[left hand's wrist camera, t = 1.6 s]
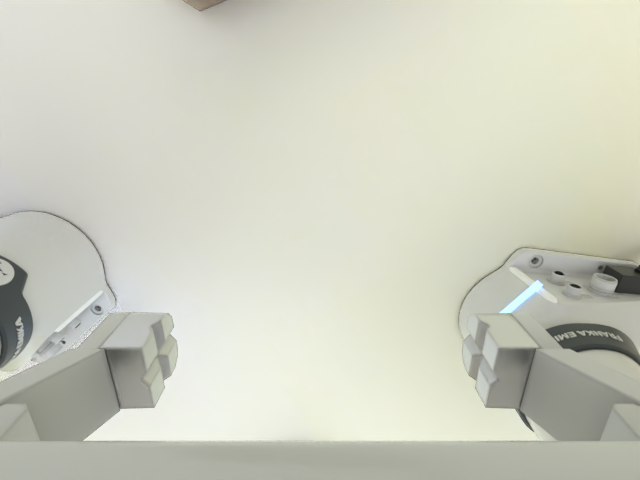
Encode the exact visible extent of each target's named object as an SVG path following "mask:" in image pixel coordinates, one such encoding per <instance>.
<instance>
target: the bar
mask: <svg viewBox="0 0 640 480" xmlns="http://www.w3.org/2000/svg"><path fill="white" fill-rule="evenodd" d="M183 1H185V2H186V3H188V4H189V5H191V6H192V7H194V8H196V9H197V10H199V11H202V10H204V9H207V8H209V7H211V6H214V5H216V4H218V3H221V2H223V1H226V0H183Z"/></svg>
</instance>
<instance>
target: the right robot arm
mask: <svg viewBox="0 0 640 480" xmlns="http://www.w3.org/2000/svg"><path fill="white" fill-rule="evenodd" d="M115 304H116V300H115V297H114V295H113V293H112V292H111V290H110V288H109V287H108V285H107V283H106V280H105V274H104V268H103V264H102V261H101V258H100V256H99V254H98V252H97V250H96V249H95V247H94V246H93V244H92V243H91V242H90V240H89V239H88V238H87V237H86V236H85V235H84V234H83V233H82V232H81V231H80V230H78V229H77V228H76V227H75V226H73V225H72V224H70V223H68V222H67V221H65V220H63V219H61V218H59V217H56V216H54V215H51V214H47V213H43V212H37V211H24V212H18V213H14V214H12V215H9V216H6V217H2V218H0V371H17V370H19V369H21V368H22V367H23V366H24V365H25V364H27V363H28V362H29V361H30V360H31V361H35V362H44V361H46V360H48V359H50V358H52V357H54V356H56V355H58V354H61V353H63V352H65V351H66V350H67V349H68V348H69V347H70V346H71V345H73V344H74V343H75V342H76V341H77V340H78V339H79V338H80V337H81V336H83V335H84V334H85V333H86V332H87V331H88V330H89V329H90V328H91V327H92V326H94V325H95V324H96V323H97V322H98V321H99V320H100V319H101V318H102V317H104V316H105V315H106V314H107V313H108V312H109V311H110V310H111V309H112V308H113V307H114V306H115ZM98 306H99V307H101V308H99V307H98Z"/></svg>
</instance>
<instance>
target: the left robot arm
mask: <svg viewBox="0 0 640 480" xmlns="http://www.w3.org/2000/svg"><path fill="white" fill-rule="evenodd" d="M533 258H536V259H535V260H534V261H533V262H531V261H532V259H533ZM173 328H174V324H173V320H172V316H171V315H170V314H169V313H138V312H133V313H131V312H115V313H111V314H109V315H108V316H107V317H106V318H105V319H104V321H103V322H102V323H101V324H100V325H99V326H98V327H97V328H96V329H95V330H94V331H93V332H92V333H91V334H90V335H89V336H88V337H87V338H86V339H85V341H84V342H83V343H82V344H81V345H80V346H79V347H78V348H77V349H69V350H67V351H65V352H63V353H61V354H58V355H56V356H54V357H52V358H50V359H48V360H46V361H44V362H41V363H39V364H37V365H35V366H33V367H31V368H29V369H27V370H24V371H22V372H20V373H18V374H16V375H14V376H12V377H10V378H7V379H5V380H3V381H1V382H0V480H640V265H638V264H637V263H635V262H632V261H626V260H619V259H611V258H603V257H595V256H587V255H579V254H572V253H564V252H556V251H548V250H540V249H532V248H521V249H518V250H517V251H515V252H514V253H513V254H512V255H511V256H510V258H509V259H508V260H507V261H506V262H505V264H504V265H503V266H502V267H501V268H499V269H498V270H497V271H495V272H493V273H492V274H490V275H488V276H487V277H485V278H484V279H482V280H481V281H480V282H479V283H478V284H476V285H475V286H474V287H473V289H472V290H471V291H470V292H469V294H468V295H467V296H466V298H465V300H464V302H463V304H462V307H461V310H460V314H459V329H460V333H461V335H462V338H463V339H464V341H463V348H462V355H463V362H464V366H465V369H466V371H467V373H468V375H469V376H470V377H472V378H473V379H475V380H476V386H475V388H476V390H477V392H478V394H479V396H480V398H481V400H482V402H483V403H484V405H485V407H486V408H514V409H515V410H516V411H517V413H518V414H519V416H520V417H521V419H522V420H523V422H524V423H525V424H526V426H527V427H528V428H529V429H530V430H532V431H533V432H535V434H536V435H537V437H538V439H539V440H540V441H83V440H84V439H85V438H87V437H88V436H89V435H90V434H92V433H93V432H94V431H95V430H97V429H98V428H99V427H100V426H101V425H103V424H104V423H105V422H106V421H108V420H109V419H110V418H111V417H113V416H114V415H115V414H116V413H118V412H119V411H120V409H126V408H154V407H155V405H156V404H157V402H158V400H159V398H160V396H161V394H162V392H163V390H164V388H165V386H164V380H165V379H167V378H168V377H170V376H171V375H172V373H173V371H174V369H175V366H176V362H177V357H178V347H177V341H176V339H175V338H174V337H173V336H172V335H171V334H170V333H171V331H172V329H173Z"/></svg>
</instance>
